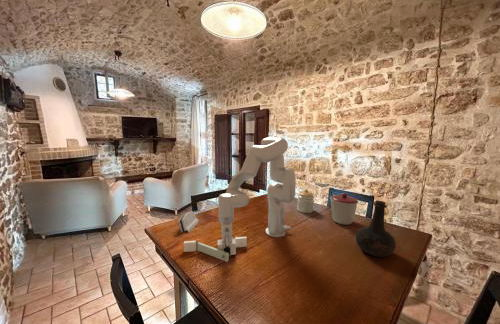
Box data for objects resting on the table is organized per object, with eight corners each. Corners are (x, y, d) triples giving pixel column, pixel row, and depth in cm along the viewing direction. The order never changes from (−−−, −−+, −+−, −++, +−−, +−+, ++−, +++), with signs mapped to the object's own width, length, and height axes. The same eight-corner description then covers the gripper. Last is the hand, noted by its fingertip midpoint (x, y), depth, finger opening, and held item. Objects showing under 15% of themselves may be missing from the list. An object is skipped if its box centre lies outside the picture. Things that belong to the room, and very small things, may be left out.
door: (194, 251, 106) (194, 242, 106) (197, 249, 108) (197, 240, 107) (226, 263, 96) (226, 254, 96) (228, 261, 98) (228, 251, 97)
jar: (294, 207, 170) (295, 187, 168) (309, 207, 172) (310, 186, 169) (300, 213, 157) (301, 191, 155) (316, 213, 159) (317, 191, 156)
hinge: (188, 232, 126) (182, 217, 125) (181, 234, 127) (176, 219, 126) (199, 221, 142) (194, 208, 141) (193, 222, 143) (188, 209, 142)
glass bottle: (347, 245, 113) (351, 197, 109) (370, 240, 119) (375, 194, 115) (377, 265, 97) (383, 209, 92) (402, 257, 103) (409, 205, 99)
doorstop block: (234, 248, 108) (234, 238, 107) (235, 254, 103) (235, 243, 102) (217, 250, 106) (217, 239, 105) (217, 256, 101) (217, 245, 100)
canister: (361, 223, 142) (364, 194, 139) (347, 230, 132) (350, 199, 128) (338, 214, 156) (340, 188, 153) (323, 220, 146) (325, 191, 143)
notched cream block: (246, 244, 113) (246, 236, 112) (246, 246, 111) (246, 238, 110) (184, 250, 107) (184, 241, 106) (184, 252, 105) (183, 243, 105)
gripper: (235, 225, 94) (235, 260, 97) (232, 211, 111) (232, 241, 113) (218, 226, 93) (219, 262, 95) (218, 211, 109) (219, 243, 112)
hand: (226, 250), depth 104 cm, fingers closed on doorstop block, 5 cm apart
